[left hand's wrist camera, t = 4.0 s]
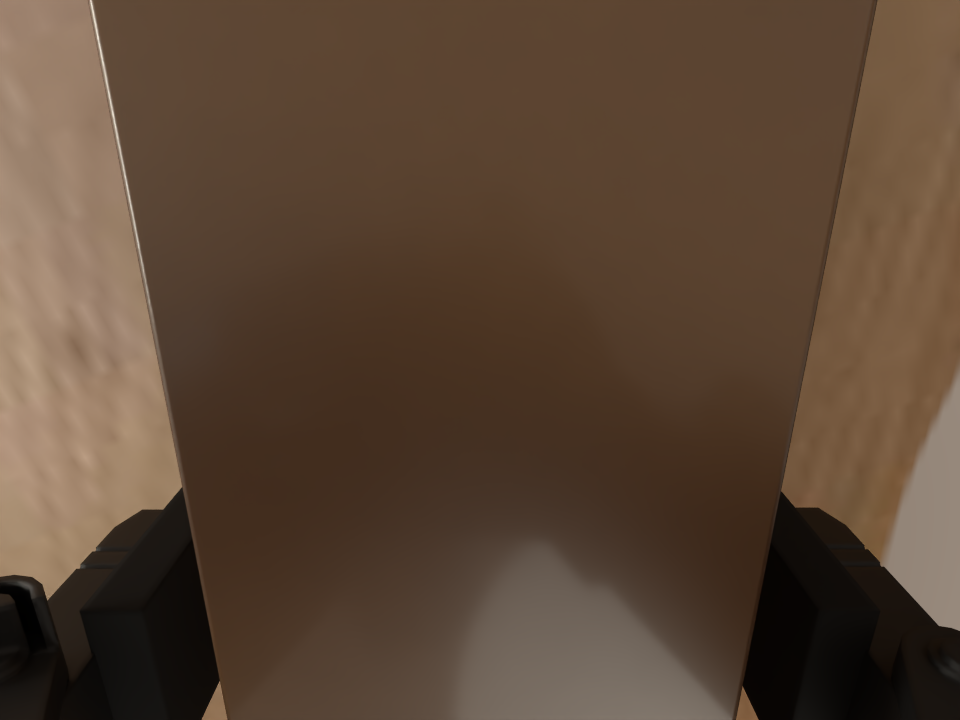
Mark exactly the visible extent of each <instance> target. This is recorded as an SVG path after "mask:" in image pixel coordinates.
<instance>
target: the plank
mask: <svg viewBox="0 0 960 720" xmlns="http://www.w3.org/2000/svg"><path fill="white" fill-rule="evenodd" d="M88 3H89V9H90V14H91V19H92V24H93V29H94V34H95V39H96V45H97V50H98V55H99V60H100V65H101V70H102V75H103V81H104V86H105V91H106V96H107V101H108V106H109V112H110V117H111V122H112V127H113V132H114V137H115V142H116V148H117V153H118V158H119V163H120V168H121V173H122V178H123V184H124V189H125V194H126V199H127V204H128V209H129V215H130V220H131V225H132V230H133V235H134V240H135V245H136V251H137V256H138V261H139V266H140V271H141V276H142V281H143V287H144V292H145V297H146V302H147V307H148V312H149V317H150V323H151V328H152V333H153V338H154V343H155V348H156V354H157V359H158V364H159V369H160V374H161V379H162V384H163V390H164V395H165V400H166V405H167V410H168V415H169V420H170V426H171V431H172V436H173V441H174V446H175V451H176V456H177V462H178V467H179V472H180V477H181V482H182V487H183V493H184V498H185V503H186V508H187V513H188V518H189V523H190V529H191V534H192V539H193V544H194V549H195V554H196V559H197V565H198V570H199V575H200V580H201V585H202V590H203V596H204V601H205V606H206V611H207V616H208V621H209V626H210V632H211V637H212V642H213V647H214V652H215V657H216V662H217V668H218V673H219V678H220V683H221V688H222V693H223V698H224V704H225V709H226V714H227V719H228V720H736V716H737V711H738V706H739V701H740V696H741V691H742V686H743V681H744V675H745V670H746V665H747V660H748V655H749V650H750V645H751V640H752V635H753V630H754V625H755V620H756V614H757V609H758V604H759V599H760V594H761V589H762V584H763V579H764V574H765V569H766V564H767V559H768V553H769V548H770V543H771V538H772V533H773V528H774V523H775V518H776V513H777V508H778V503H779V498H780V492H781V487H782V482H783V477H784V472H785V467H786V462H787V457H788V452H789V447H790V442H791V437H792V431H793V426H794V421H795V416H796V411H797V406H798V401H799V396H800V391H801V386H802V381H803V376H804V370H805V365H806V360H807V355H808V350H809V345H810V340H811V335H812V330H813V325H814V320H815V315H816V310H817V304H818V299H819V294H820V289H821V284H822V279H823V274H824V269H825V264H826V259H827V254H828V249H829V243H830V238H831V233H832V228H833V223H834V218H835V213H836V208H837V203H838V198H839V193H840V188H841V182H842V177H843V172H844V167H845V162H846V157H847V152H848V147H849V142H850V137H851V132H852V127H853V121H854V116H855V111H856V106H857V101H858V96H859V91H860V86H861V81H862V76H863V71H864V66H865V60H866V55H867V50H868V45H869V40H870V35H871V30H872V25H873V20H874V15H875V10H876V5H877V0H88Z"/></svg>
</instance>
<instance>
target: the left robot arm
mask: <svg viewBox="0 0 960 720" xmlns="http://www.w3.org/2000/svg"><path fill="white" fill-rule="evenodd" d="M219 681H220V678H219V673H218V668H217V662H216V657H215V652H214V647H213V642H212V637H211V632H210V626H209V621H208V616H207V611H206V606H205V601H204V596H203V590H202V585H201V580H200V575H199V570H198V565H197V559H196V554H195V549H194V544H193V539H192V534H191V529H190V523H189V518H188V513H187V508H186V503H185V498H184V493H183V487H182V488H181V489H180V490H179V492H178V493H177V494H176V495H175V496H174V498H173V499H172V500H171V501H170V502H169V504H168V505H167V506H166V507H165V508H164V510H141V511H140V512H138V513H136V514H135V515H133V516H132V517H130V518H129V519H127V520H125V521H124V522H122V523H121V524H119V525H117V526H116V527H115V528H114V529H113V530H112V531H111V532H110V533H109V534H108V535H107V536H106V537H105V538H104V540H103V541H102V542H101V543H100V544H99V545H98V546H97V547H96V551H95V552H92V553H91V554H90V555H89V556H88V557H87V558H86V559H85V560H84V561H83V562H82V564H81V567H80V569H76V570H75V571H74V572H73V573H72V574H71V575H70V577H69V578H68V579H67V580H66V581H65V582H64V583H63V584H62V585H61V586H60V587H59V589H58V590H57V591H56V592H55V593H54V594H53V595H52V596H51V597H50V598H49V599H48V601H47V598H46V595H45V592H44V589H43V585H42V584H41V583H40V582H38V581H37V580H35V579H34V578H33V577H27V576H19V575H11V576H4V577H0V720H201V719H202V717H203V715H204V713H205V711H206V709H207V707H208V704H209V702H210V700H211V698H212V696H213V694H214V692H215V690H216V687H217V685H218V683H219ZM743 687H744V690H745V692H746V694H747V696H748V698H749V700H750V702H751V704H752V707H753V709H754V711H755V713H756V715H757V717H758V719H759V720H960V631H958V630H955V629H952V628H948V627H941V626H938V625H937V624H936V622H935V621H934V620H933V619H932V618H931V617H930V616H929V615H928V614H927V613H926V612H925V611H924V609H923V608H922V607H921V606H920V605H919V604H918V603H917V602H916V601H915V600H914V599H913V598H912V596H911V595H910V594H909V593H908V592H907V591H906V590H905V589H904V588H903V587H902V586H901V585H900V583H899V582H898V581H897V580H896V579H895V578H894V577H893V576H892V575H891V574H890V573H889V572H888V570H887V569H886V568H885V567H881V566H880V562H879V561H878V560H877V559H876V557H875V556H874V555H873V554H872V553H871V552H870V551H869V550H868V549H865V548H864V544H863V543H862V542H861V541H860V540H859V539H858V538H857V537H856V536H855V535H854V534H853V533H852V531H851V530H850V529H849V528H848V527H847V526H846V525H845V524H843V523H841V522H840V521H838V520H837V519H835V518H834V517H832V516H830V515H829V514H827V513H826V512H824V511H822V510H821V509H819V508H795V507H794V506H793V505H792V504H791V502H790V501H789V500H788V499H787V498H786V496H785V495H784V494H783V493H782V492H780V498H779V503H778V508H777V513H776V518H775V523H774V528H773V533H772V538H771V543H770V548H769V553H768V559H767V564H766V569H765V574H764V579H763V584H762V589H761V594H760V599H759V604H758V609H757V614H756V620H755V625H754V630H753V635H752V640H751V645H750V650H749V655H748V660H747V665H746V670H745V675H744V681H743Z"/></svg>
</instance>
